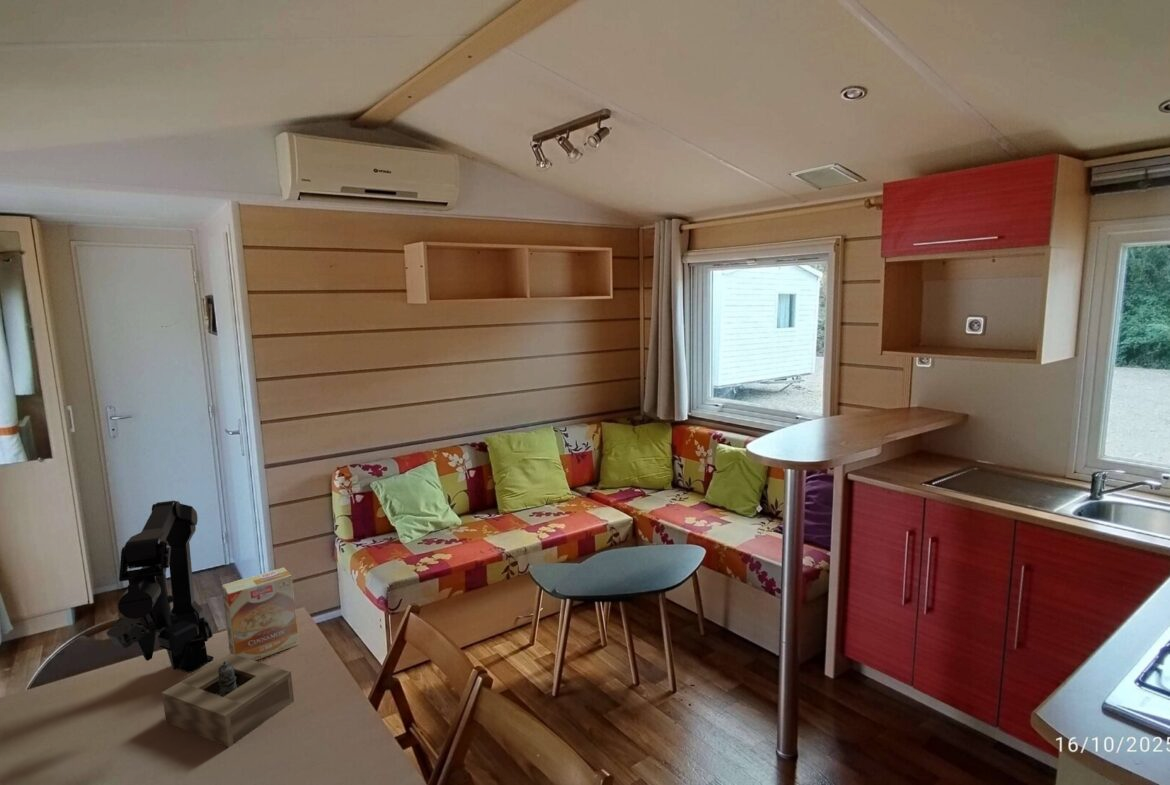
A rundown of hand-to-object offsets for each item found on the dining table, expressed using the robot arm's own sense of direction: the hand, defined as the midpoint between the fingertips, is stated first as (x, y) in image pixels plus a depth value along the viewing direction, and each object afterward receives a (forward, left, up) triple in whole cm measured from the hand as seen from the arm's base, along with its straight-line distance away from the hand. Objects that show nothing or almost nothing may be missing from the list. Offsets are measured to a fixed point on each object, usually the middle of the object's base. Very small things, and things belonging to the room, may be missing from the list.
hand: (162, 664), depth 136 cm
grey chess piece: (+10, +7, -13) cm, 18 cm away
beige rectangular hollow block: (+10, +7, -13) cm, 18 cm away
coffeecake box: (-4, +27, -13) cm, 30 cm away
